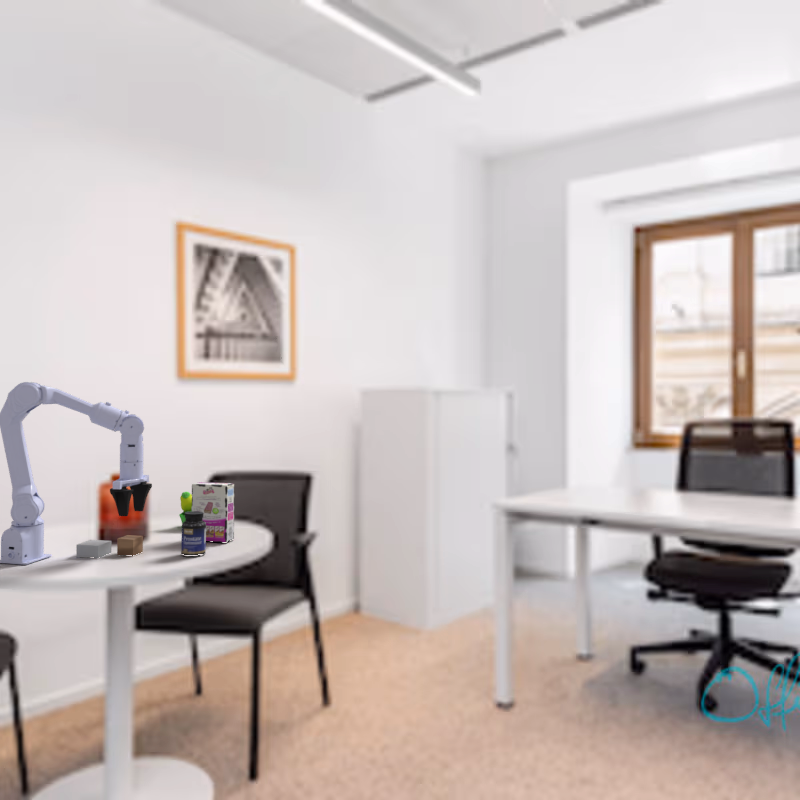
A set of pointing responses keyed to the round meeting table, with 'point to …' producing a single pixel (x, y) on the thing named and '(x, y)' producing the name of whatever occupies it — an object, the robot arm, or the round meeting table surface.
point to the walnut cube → (129, 545)
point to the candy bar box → (215, 509)
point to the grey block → (93, 548)
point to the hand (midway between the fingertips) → (131, 513)
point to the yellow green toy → (185, 504)
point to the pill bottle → (193, 534)
